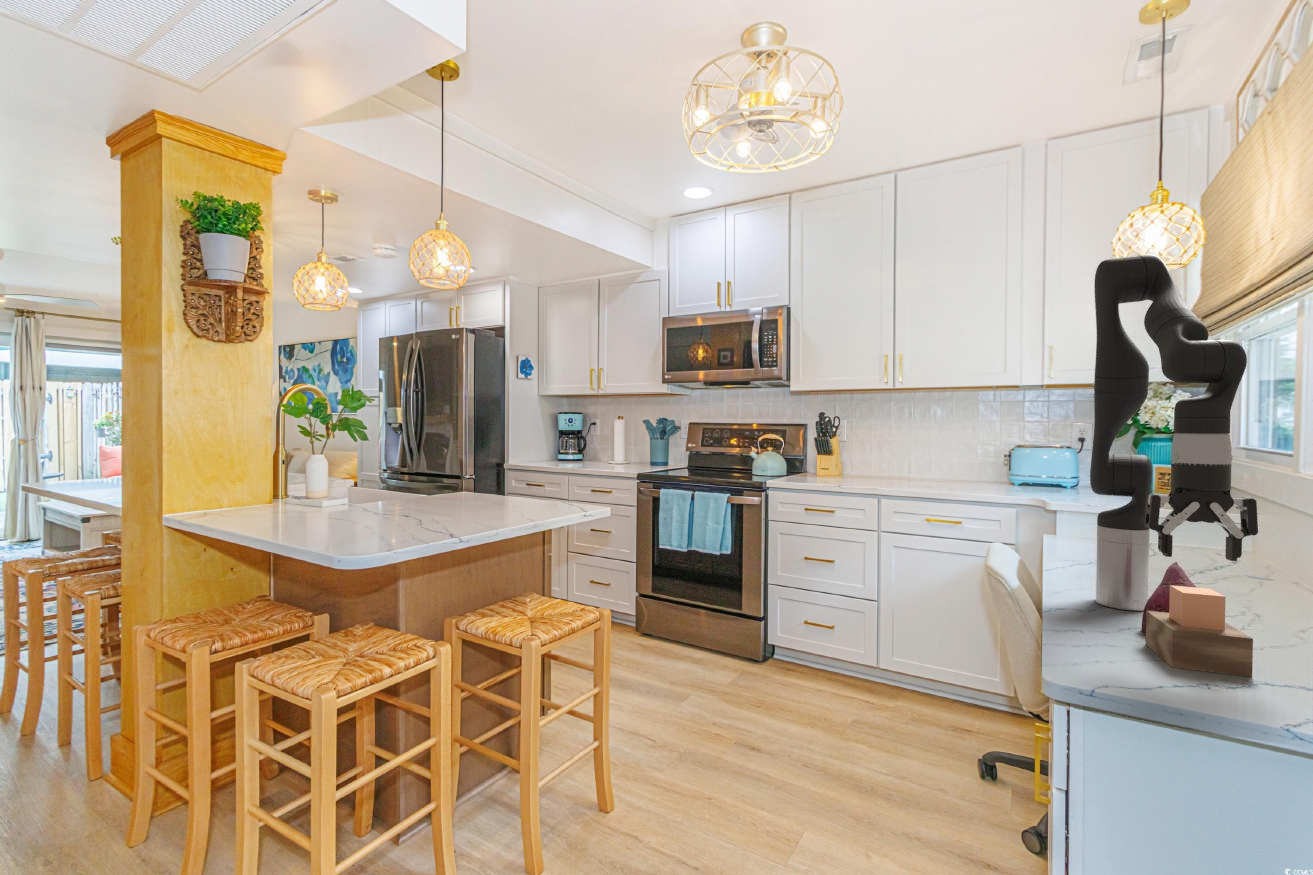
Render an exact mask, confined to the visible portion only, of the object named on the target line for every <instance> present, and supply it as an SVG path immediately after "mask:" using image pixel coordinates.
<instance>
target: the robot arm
mask: <svg viewBox="0 0 1313 875" xmlns="http://www.w3.org/2000/svg"><path fill="white" fill-rule="evenodd" d="M1147 300H1148V301H1151V304H1150V305H1149V307H1148V308H1147V311H1146V312H1145V315H1144V319H1143V320H1144V321H1143V323H1144V324H1143V325H1144V329H1145V331H1146V333H1147V335H1148V337H1149V338H1150V339H1151V340H1152V341H1153V343H1154V344H1155V345H1156V346H1157V348H1158V351H1159V355H1160V356H1159V357H1160V364H1161V366H1160V367H1161V371H1162V374H1163V376H1164V377H1165V378H1166V379H1168V380H1170V381H1171V382H1174V383H1177V384H1208V386H1207V387H1206V389H1205V390H1204V392H1203V393H1202V395H1201V394H1200V395H1199V396H1194V397H1187V398H1184V399H1179V400H1178V401H1177V402H1176V403H1175V405H1174V411H1173V416H1174V417H1173V438H1172V443H1171V450H1170V451H1171V454H1170V455H1171V457H1170V460H1171V461H1170V491H1169V494H1168V495H1161V494H1156V493H1151V492H1152V487H1153V486H1152V484H1153V463H1152V460H1151V458H1150V457H1149V456H1147V455H1145V454H1125V453H1123V454H1121V453H1110V451H1111V448H1112V445H1113V443H1114V441H1115V439H1116V438H1117V436H1118V435H1119V433H1120V432H1121V431H1122V429H1123V427H1124V426H1126V424H1127V423H1128V421H1130V419H1131V418H1132V417H1134V415H1135V414H1136V413H1137V412H1138V410H1140V408H1141V407H1142V406H1143V405H1144V403H1145V401H1146V400H1147V398H1148V394H1149V379H1150V366H1149V363H1148V360H1147V359H1146V358H1147V357H1145V355H1144V353H1142V351H1141V350H1140V349H1139V347H1138V346H1137V345H1136V343H1135V342H1134V341H1133V340H1132V339H1131V338H1130V336H1129V335H1128V333H1127V332H1126V330H1125V328H1124V327H1123V324H1122V321H1121V316H1120V311H1119V307H1120V306H1119V305H1121V304H1127V303H1137V302H1144V301H1147ZM1094 309H1095V324H1096V326H1095V327H1096V350H1095V365H1094V384H1093V386H1094V388H1093V391H1094V392H1093V393H1094V394H1093V396H1094V398H1093V400H1094V401H1093V402H1094V405H1093V406H1094V422H1093V423H1094V425H1093V426H1094V428H1093V440H1092V450H1091V459H1090V471H1089V480H1090V488H1091V490H1092V492H1093V493H1094V494H1096V495H1100V496H1113V497H1115V496H1117V497H1131V500H1130V501H1129V502H1128V503H1126V504H1125V505H1122V506H1120V507H1117V508H1111V509H1109V510H1108V509H1107V510H1104V511H1101V512H1099V513H1098V514H1097V517H1096V522H1097V523H1096V568H1095V569H1096V576H1095V577H1096V579H1095V602H1096V603H1097V604H1098V605H1099V604H1100V605H1102V606H1105V607H1108V608H1112V609H1113V608H1114V609H1118V610H1123V611H1124V610H1126V611H1144V607H1145V605H1146V603H1147V601H1148V599H1149V592H1150V591H1149V587H1150V586H1149V584H1150V581H1149V578H1150V530H1152V531H1154V532H1157V537H1158V539H1157V549H1158V551H1159V552H1160V553H1162V556H1164V557H1166V558H1172V557H1173V538H1174V537H1173V536H1174V535H1172V534H1171V533H1172V532H1173V531H1174V530H1175V529H1176V528H1177V527H1178V526H1181V525H1182V524H1183V523H1184V522H1186V521H1187V522H1190V523H1198V522H1204V523H1208V524H1209V523H1210V524H1214V523H1216V524H1217V525H1218V526H1220V528H1222V530H1224V532H1225V533H1226V534H1227V536H1225V559H1226V560H1228V561H1230V562H1237V561H1238V558H1239V559H1241V557H1242V554H1243V550H1242V549H1243V539H1244V538H1245V537H1249V536H1257V535H1258V533H1259V527H1258V526H1259V525H1258V524H1259V523H1258V521H1259V520H1258V508H1257V506H1258V505H1257V504H1258V503H1257V502H1258V501H1257V500H1256V499H1254V498H1252V497H1248V496H1241V497H1240V498H1238V497H1236V498H1235V497H1234V498H1233V497H1232V494H1231V490H1232V461H1233V454H1232V452H1233V451H1232V449H1233V448H1232V442H1231V441H1232V440H1231V410H1232V407H1233V403H1234V400H1235V398H1236V394H1237V391H1238V389H1239V386H1240V383H1241V381H1242V379H1243V376H1244V374H1245V372H1246V369H1247V368H1246V367H1247V363H1248V358H1247V357H1248V356H1247V352H1246V351H1245V349H1244V347H1243V346H1242V345H1241V344H1240V343H1239V342H1237V341H1235V340H1230V339H1217V340H1210V339H1209V330H1208V329H1207V327H1206V325H1205V324H1204V323H1203V321H1202V320H1201V319H1200V318H1199V317H1198V316H1197V315H1196V314H1195V313H1194V311H1192V310H1191V309H1190V307H1189V306H1187V304H1186V302H1185V301H1184V299H1183V297H1182V295H1181V293H1180V291H1179V289H1178V286H1177V284H1176V282H1175V280H1174V278H1173V277H1172V274H1171V272H1170V270H1169V268H1168V267H1167V264H1166V263H1165V262H1164V261H1163V259H1162V258H1161V257H1159V256H1158V255H1156V254H1139V255H1133V256H1132V255H1131V256H1123V257H1116V258H1109V259H1105V260H1102V261H1101V262H1100V263H1098V265H1097V267H1096V270H1095V275H1094ZM1166 503H1167V504H1168V505H1169V506H1170V507H1171V508H1172V510H1171V512H1169V513H1168V514H1167V515H1166V516H1165V518H1164V520H1162V522H1161V523H1160V524H1159V522H1160V521H1159V520H1160V510H1161V509H1162V508H1164V507H1165V504H1166ZM1234 506H1235V509H1236V510H1237V511H1239V514H1240V515H1239V517H1240V527H1238V526H1237V524H1236V523H1235V521H1234V520H1233V518H1231V517H1230V516H1229V514H1227V512H1229V511H1230V510H1231V509H1232V508H1233V507H1234Z"/></svg>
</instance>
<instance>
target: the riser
mask: <svg viewBox="0 0 1313 875" xmlns="http://www.w3.org/2000/svg"><path fill="white" fill-rule="evenodd" d="M1145 645H1146V646H1147V647H1148V648H1150V649H1151V650H1152V651H1153V652H1154V653H1155V654H1156V655H1158V657H1160V658H1161V659H1162V660H1163V661H1164V662H1166V663H1167V664H1168V665H1169V666H1170V667H1171V668H1175V669H1176V668H1177V669H1182V668H1184V670H1190V669H1192V671H1193V670H1194V671H1198V670H1199V671H1200V672H1206V671H1210V672H1209V673H1214V672H1216V674H1217V673H1218V674H1223V675H1231V676H1240V677H1246V678H1247V677H1248V678H1253V658H1254V657H1253V656H1254V655H1253V654H1254V653H1253V651H1254V648H1253V647H1254V646H1253V645H1254V639H1253V637H1251V636H1249V635H1248V634H1246V633H1244V632H1242V631H1240V630H1239V629H1238V628H1236V627H1234V626H1232V625H1230V624H1229V623H1227V622H1226V621H1225V631H1223V630H1214V629H1204V628H1195V627H1185V626H1181V625H1180V624H1178V623H1177V622H1176V621H1174V620H1173V619H1171V618H1170V617H1169V613H1166V612H1156V611H1146V633H1145ZM1199 671H1198V672H1199Z"/></svg>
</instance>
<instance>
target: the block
mask: <svg viewBox="0 0 1313 875" xmlns="http://www.w3.org/2000/svg"><path fill="white" fill-rule="evenodd" d="M1169 617H1170V618H1171V619H1173V620H1174V621H1176V622H1177V623H1178V624H1180V625H1181V626H1185V627H1195V628H1204V629H1214V630H1223V631H1225V622H1226V596H1225V595H1223V594H1221V593H1219V592H1217V591H1216V590H1214V589H1212V588H1206V587H1197V588H1195V587H1184V586H1172V585H1170V601H1169Z"/></svg>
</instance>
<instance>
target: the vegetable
mask: <svg viewBox="0 0 1313 875" xmlns="http://www.w3.org/2000/svg"><path fill="white" fill-rule="evenodd" d="M1170 585H1172V586H1184V587H1195V588H1198V587H1197V586H1196V585H1195V583H1194V582H1193V581H1192V580H1191V579H1190V578H1189V576H1188V575H1187V574H1186V572H1185V571H1184V568H1182V567H1181V566H1180V565H1179V564H1178V561H1174V562H1173V563H1171V564H1170V565H1169V566H1168V567H1167V568H1166V571H1165V573H1164V575H1163V577H1162V580H1161V582H1160V583H1159V585H1158V586H1156V589H1155V590H1153V593H1152V594H1151V595H1150V596H1149V597H1148V601H1147V603H1146V605H1145V607H1144V610H1142V616H1141V618H1142V619H1141V632H1142V633H1144V634H1146V611H1156V612H1166V613H1169V601H1170Z"/></svg>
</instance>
